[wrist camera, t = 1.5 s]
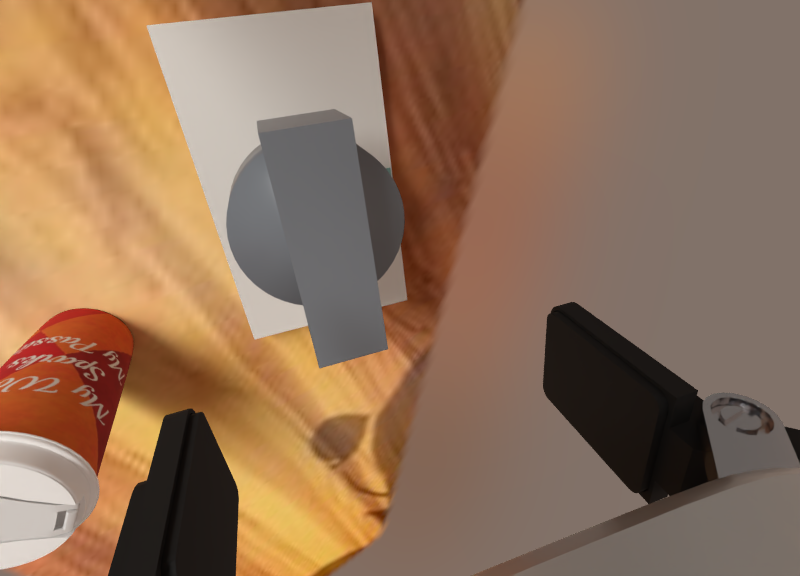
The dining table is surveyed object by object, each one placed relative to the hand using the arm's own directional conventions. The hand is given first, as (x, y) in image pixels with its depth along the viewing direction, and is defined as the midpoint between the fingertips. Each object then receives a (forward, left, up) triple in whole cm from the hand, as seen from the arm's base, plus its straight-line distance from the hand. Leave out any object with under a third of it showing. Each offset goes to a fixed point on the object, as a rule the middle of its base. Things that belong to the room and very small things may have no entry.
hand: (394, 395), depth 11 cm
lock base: (0, 0, -22) cm, 22 cm away
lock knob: (0, 0, -16) cm, 16 cm away
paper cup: (+8, -17, -22) cm, 29 cm away
